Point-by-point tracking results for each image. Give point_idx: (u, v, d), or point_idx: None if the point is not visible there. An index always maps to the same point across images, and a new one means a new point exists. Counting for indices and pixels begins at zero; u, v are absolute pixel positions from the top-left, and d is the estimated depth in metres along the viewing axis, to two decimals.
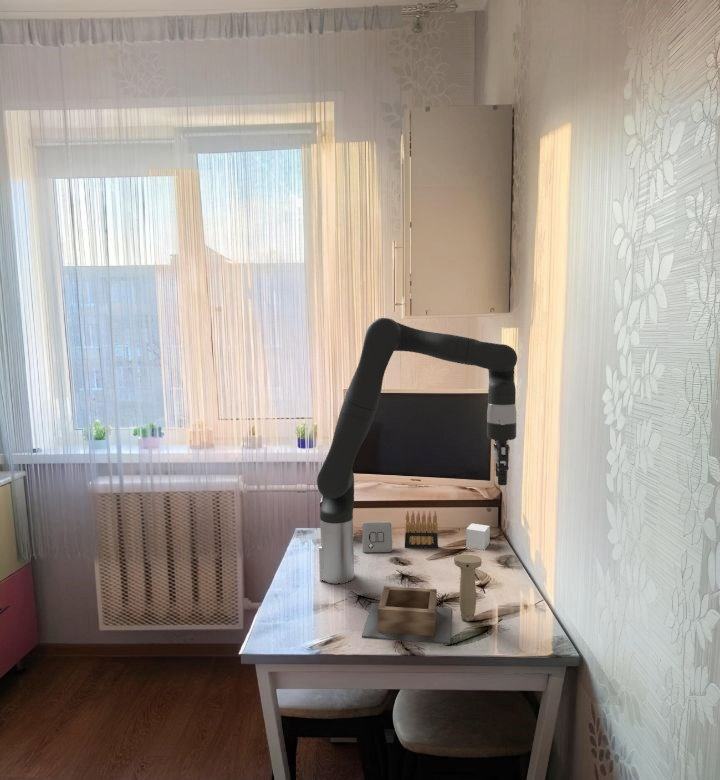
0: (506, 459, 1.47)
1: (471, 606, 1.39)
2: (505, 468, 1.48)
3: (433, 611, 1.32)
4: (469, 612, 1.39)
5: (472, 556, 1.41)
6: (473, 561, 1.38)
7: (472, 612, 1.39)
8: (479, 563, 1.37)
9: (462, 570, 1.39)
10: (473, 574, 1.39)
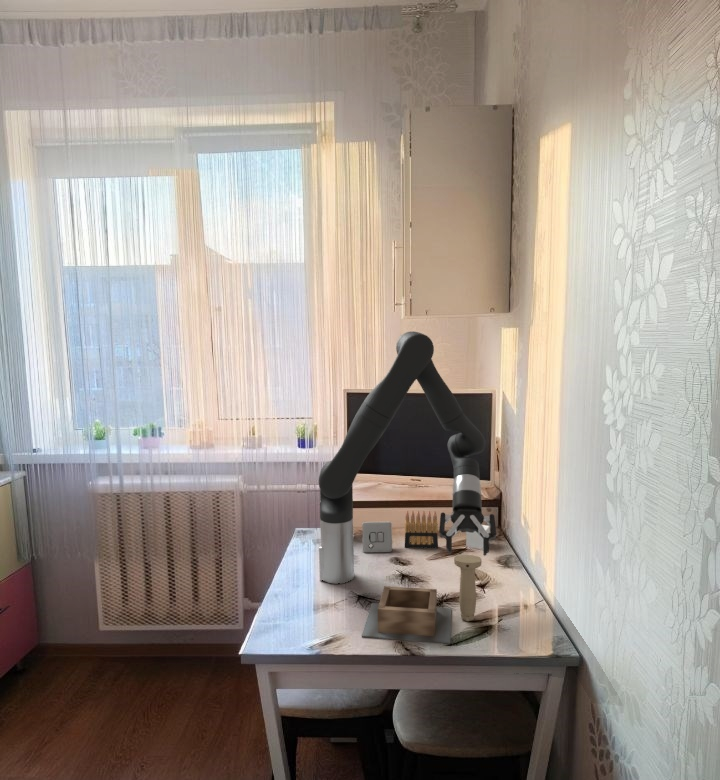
0: None
1: (471, 606, 1.39)
2: (495, 536, 1.48)
3: (433, 611, 1.32)
4: (469, 612, 1.39)
5: (472, 556, 1.41)
6: (473, 561, 1.38)
7: (472, 612, 1.39)
8: (479, 563, 1.37)
9: (462, 570, 1.39)
10: (473, 574, 1.39)
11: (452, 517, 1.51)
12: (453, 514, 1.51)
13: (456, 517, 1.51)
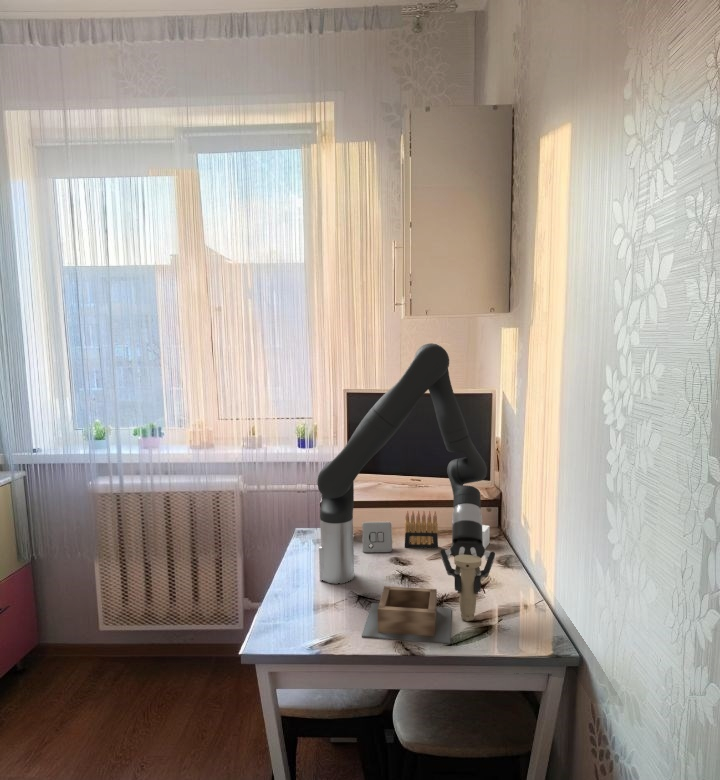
0: None
1: (471, 606, 1.39)
2: (487, 574, 1.41)
3: (433, 611, 1.32)
4: (469, 612, 1.39)
5: (472, 556, 1.41)
6: (473, 561, 1.38)
7: (472, 612, 1.39)
8: (479, 563, 1.37)
9: (462, 570, 1.39)
10: (473, 574, 1.39)
11: (453, 550, 1.44)
12: (452, 547, 1.45)
13: (456, 549, 1.44)
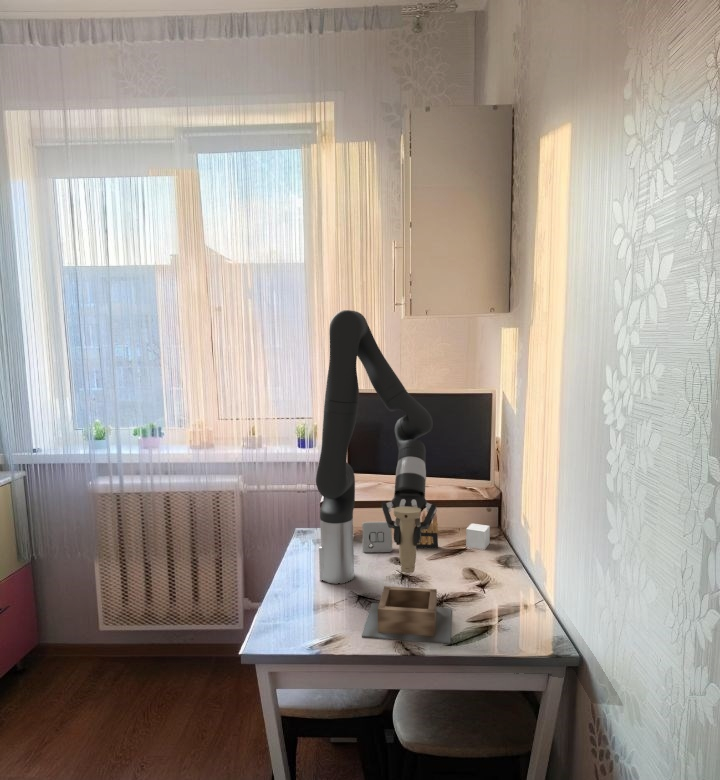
0: (432, 519, 1.39)
1: (410, 558, 1.36)
2: (428, 525, 1.38)
3: (433, 611, 1.32)
4: (408, 564, 1.36)
5: (412, 507, 1.38)
6: (412, 511, 1.35)
7: (412, 564, 1.36)
8: (418, 514, 1.34)
9: (401, 521, 1.36)
10: (413, 525, 1.36)
11: (394, 503, 1.41)
12: (394, 499, 1.42)
13: (398, 501, 1.41)
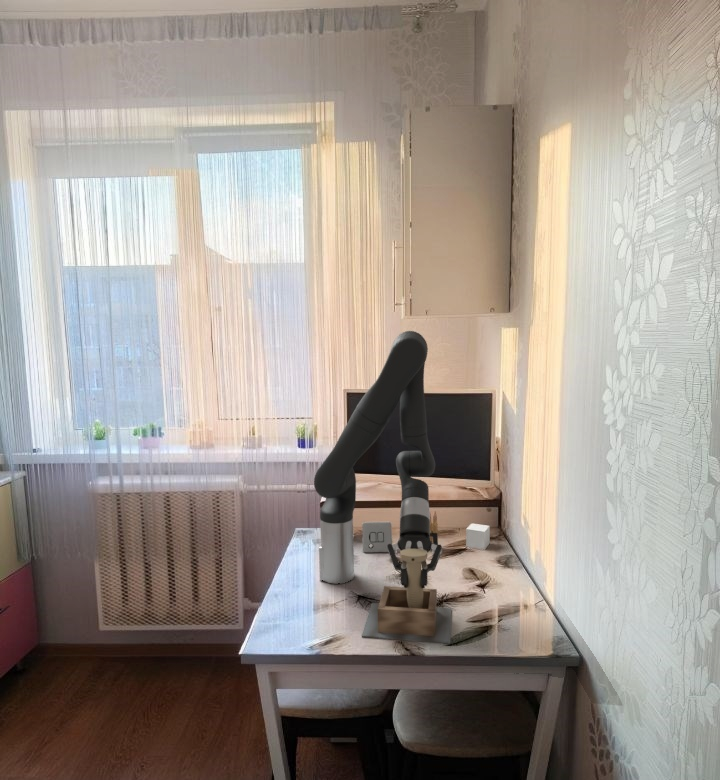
0: None
1: (418, 600, 1.38)
2: (434, 567, 1.40)
3: (433, 611, 1.32)
4: (416, 606, 1.38)
5: (418, 549, 1.40)
6: (418, 555, 1.36)
7: (419, 606, 1.38)
8: (424, 557, 1.36)
9: (408, 564, 1.37)
10: (419, 567, 1.37)
11: (400, 545, 1.43)
12: (399, 541, 1.43)
13: (403, 543, 1.43)
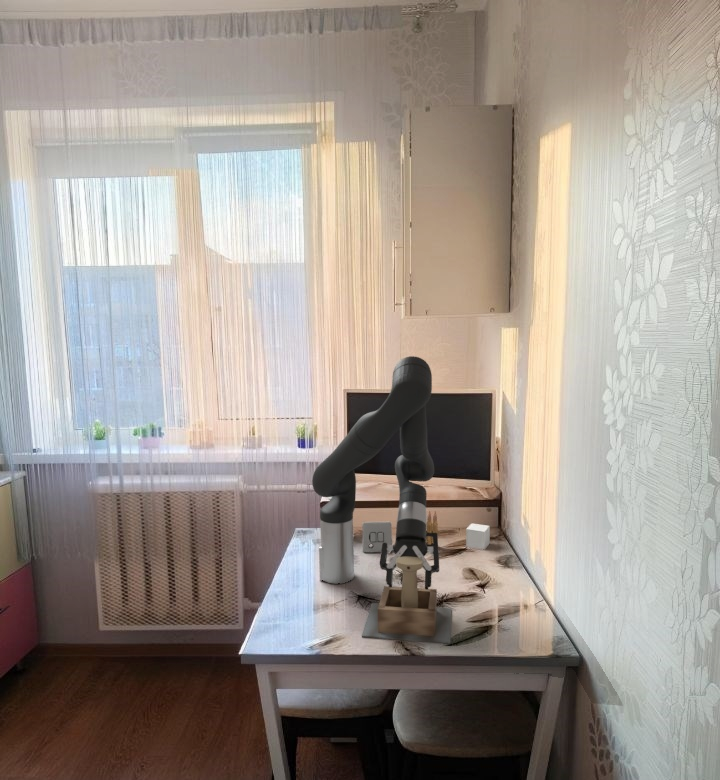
0: None
1: None
2: None
3: (433, 611, 1.32)
4: None
5: (414, 557, 1.39)
6: (414, 563, 1.36)
7: None
8: (420, 565, 1.36)
9: (403, 572, 1.37)
10: (415, 576, 1.37)
11: (394, 548, 1.43)
12: (395, 544, 1.43)
13: (398, 548, 1.42)
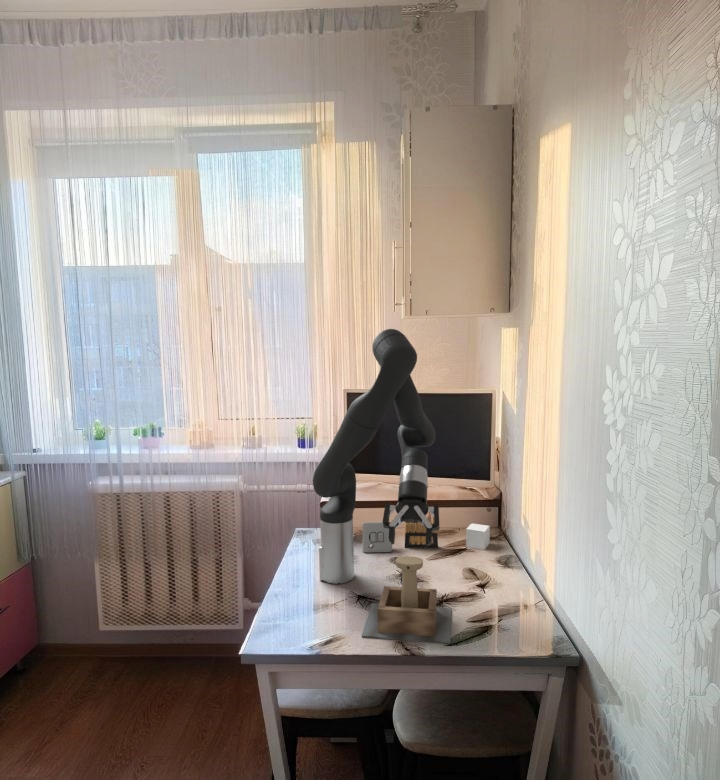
0: None
1: None
2: (439, 527, 1.46)
3: (433, 611, 1.32)
4: None
5: (414, 557, 1.39)
6: (414, 563, 1.36)
7: None
8: (420, 565, 1.36)
9: (403, 572, 1.37)
10: (415, 576, 1.37)
11: (396, 508, 1.49)
12: (398, 505, 1.50)
13: (400, 508, 1.49)
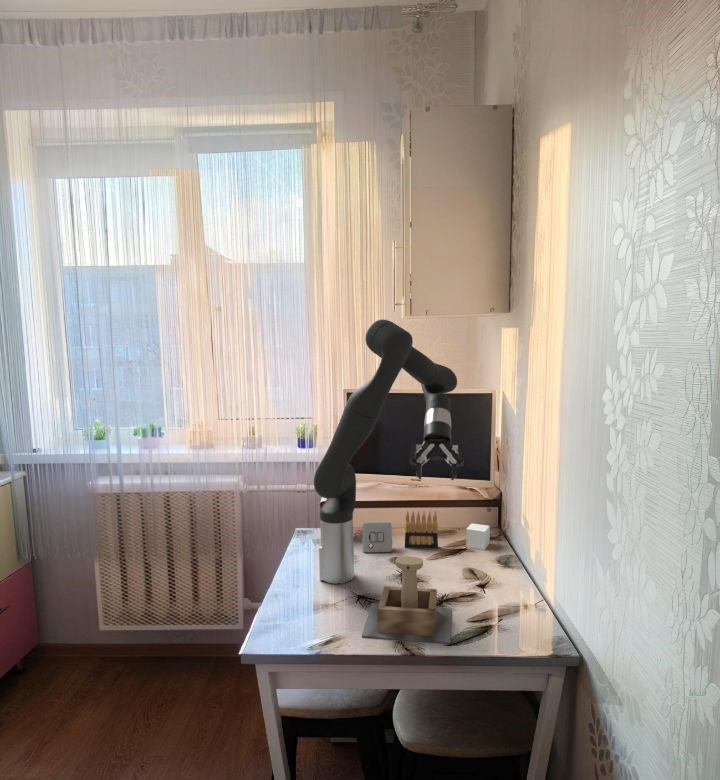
0: None
1: None
2: (463, 463, 1.56)
3: (433, 611, 1.32)
4: None
5: (414, 557, 1.39)
6: (414, 563, 1.36)
7: None
8: (420, 565, 1.36)
9: (403, 572, 1.37)
10: (415, 576, 1.37)
11: (422, 446, 1.59)
12: (423, 444, 1.59)
13: (426, 446, 1.59)
